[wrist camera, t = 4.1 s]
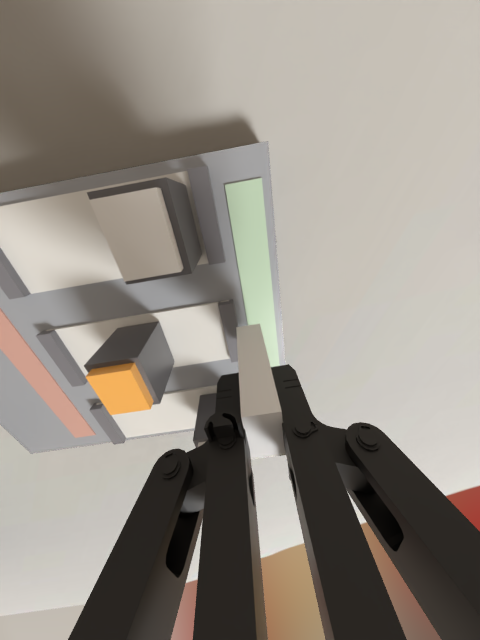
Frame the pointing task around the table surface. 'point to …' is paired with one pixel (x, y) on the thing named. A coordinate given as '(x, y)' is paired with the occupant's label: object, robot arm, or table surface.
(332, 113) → the table surface
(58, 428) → the panel
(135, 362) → the breaker mid
